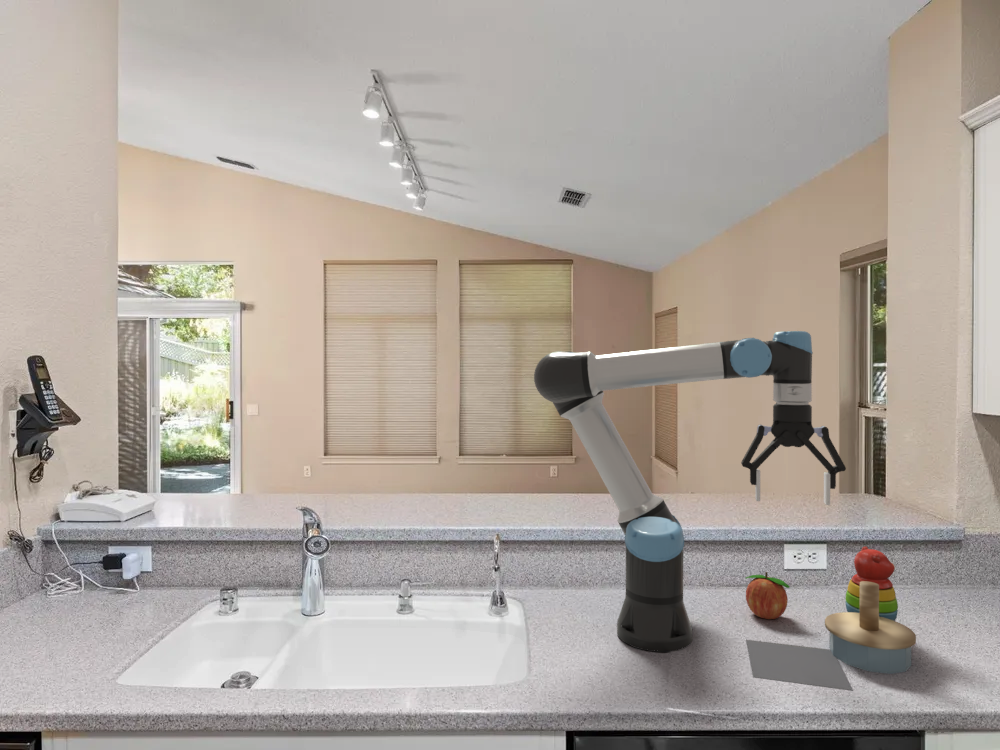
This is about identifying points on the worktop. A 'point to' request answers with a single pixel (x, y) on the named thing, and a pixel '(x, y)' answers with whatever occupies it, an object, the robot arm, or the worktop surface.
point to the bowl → (870, 656)
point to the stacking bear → (875, 570)
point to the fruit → (766, 596)
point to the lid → (870, 624)
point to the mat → (796, 664)
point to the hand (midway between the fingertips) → (791, 502)
